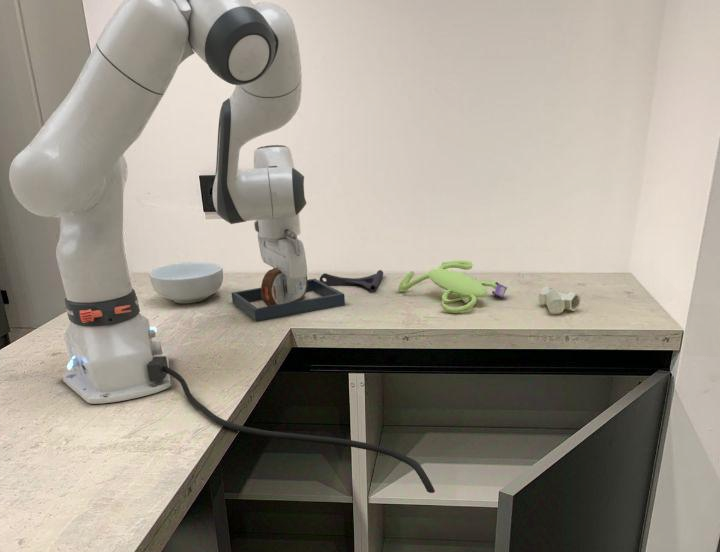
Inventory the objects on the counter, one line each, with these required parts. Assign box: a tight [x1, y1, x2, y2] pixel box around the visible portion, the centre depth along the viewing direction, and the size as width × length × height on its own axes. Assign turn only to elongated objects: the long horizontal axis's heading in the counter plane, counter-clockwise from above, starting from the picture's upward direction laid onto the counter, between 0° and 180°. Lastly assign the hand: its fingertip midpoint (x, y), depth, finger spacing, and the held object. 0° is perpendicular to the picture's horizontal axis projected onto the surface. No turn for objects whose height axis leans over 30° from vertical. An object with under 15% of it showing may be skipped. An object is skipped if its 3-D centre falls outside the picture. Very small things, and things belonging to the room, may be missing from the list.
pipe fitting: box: [538, 286, 582, 315], centre depth 152 cm, size 8×4×7 cm
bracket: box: [318, 269, 384, 293], centre depth 179 cm, size 14×15×3 cm
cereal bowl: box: [148, 261, 224, 304], centre depth 173 cm, size 17×17×7 cm
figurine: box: [397, 260, 508, 314], centre depth 165 cm, size 18×27×6 cm
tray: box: [230, 278, 346, 322], centre depth 167 cm, size 17×21×2 cm
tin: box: [260, 268, 308, 307], centre depth 165 cm, size 15×3×8 cm, turn 150°
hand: (286, 290), depth 166 cm, fingers closed on tin, 4 cm apart
